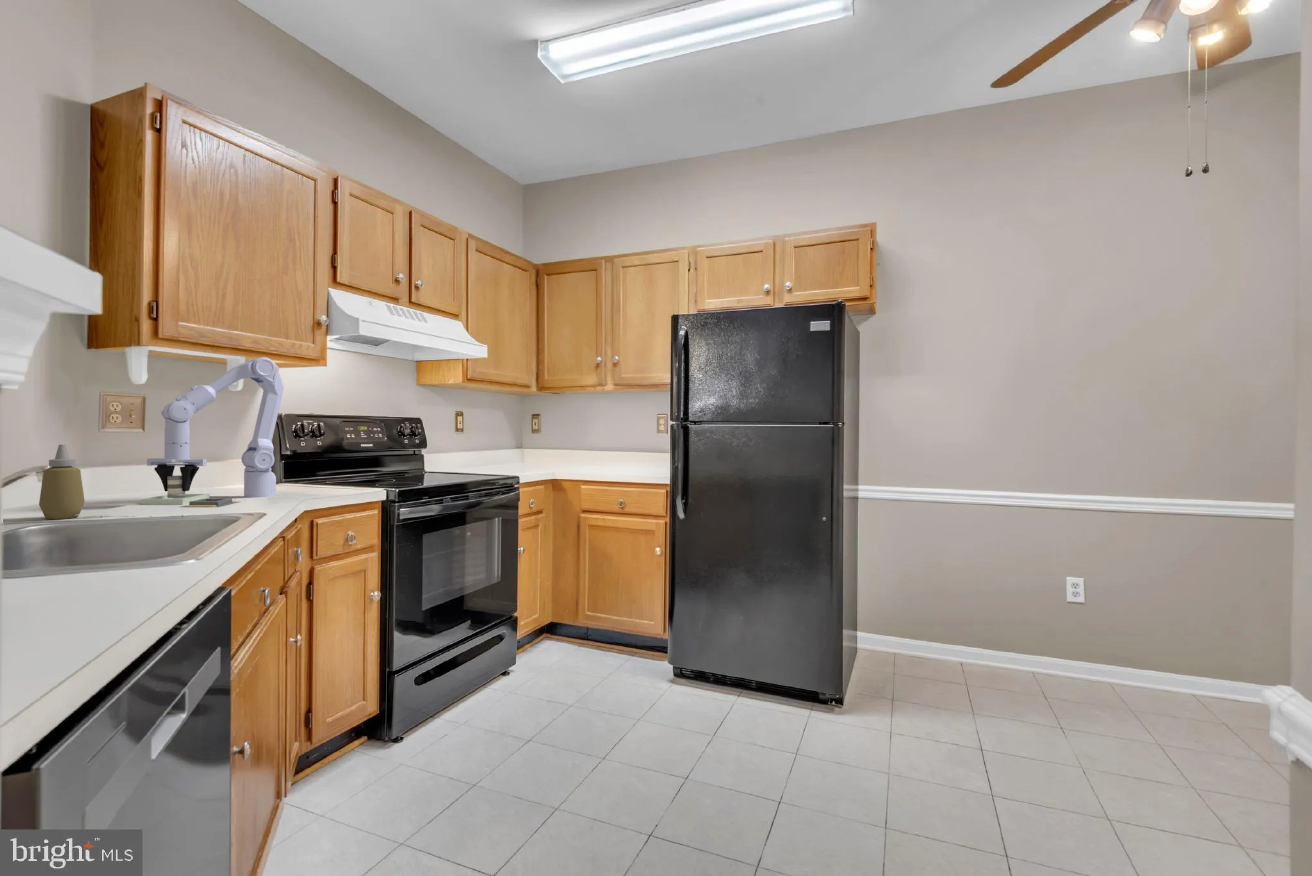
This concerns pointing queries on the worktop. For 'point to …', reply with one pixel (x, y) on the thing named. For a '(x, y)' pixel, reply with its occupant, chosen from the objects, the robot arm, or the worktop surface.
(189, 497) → the parts tray
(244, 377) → the robot arm
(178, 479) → the cylinder
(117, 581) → the worktop surface
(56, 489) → the squeeze bottle
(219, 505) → the fuse holder
